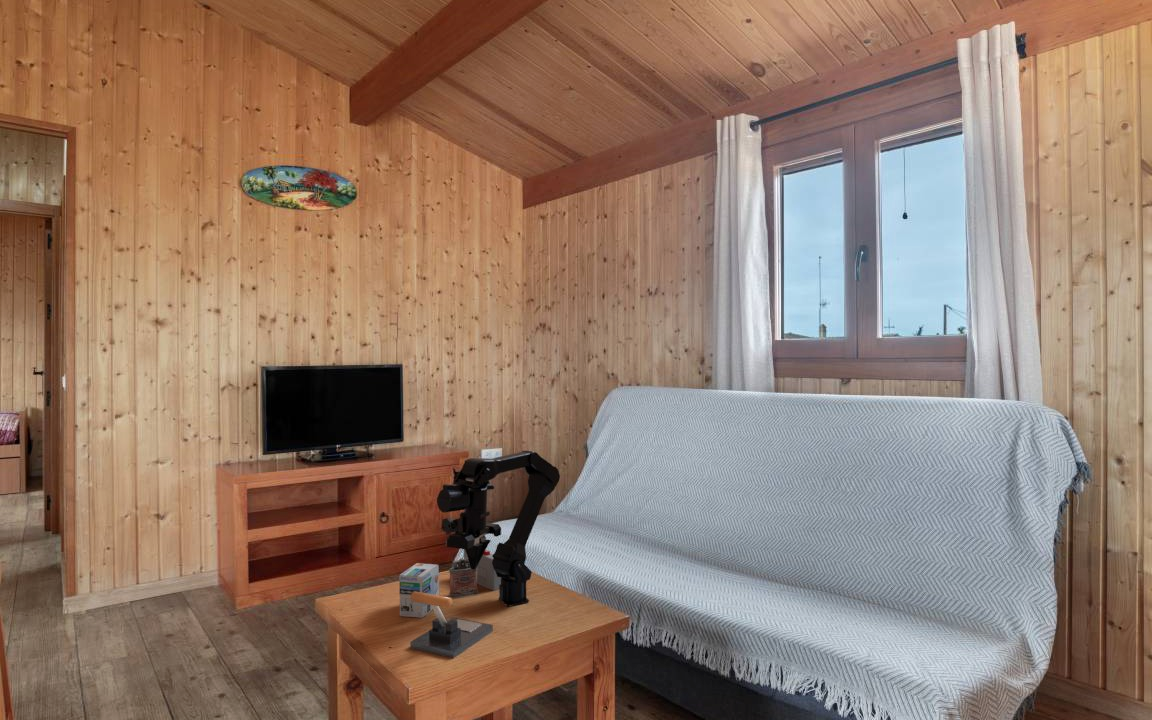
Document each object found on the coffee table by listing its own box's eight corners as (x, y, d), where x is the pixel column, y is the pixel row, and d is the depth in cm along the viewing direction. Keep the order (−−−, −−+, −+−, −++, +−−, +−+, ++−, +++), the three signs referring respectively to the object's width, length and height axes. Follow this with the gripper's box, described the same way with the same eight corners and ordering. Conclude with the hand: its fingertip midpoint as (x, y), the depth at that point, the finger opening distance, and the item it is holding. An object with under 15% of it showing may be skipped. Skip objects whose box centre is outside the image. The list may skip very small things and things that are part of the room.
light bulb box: (423, 618, 170) (422, 576, 170) (398, 616, 171) (398, 575, 171) (439, 603, 180) (439, 563, 180) (416, 601, 181) (416, 562, 181)
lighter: (450, 598, 184) (450, 562, 184) (448, 594, 187) (447, 559, 187) (479, 594, 187) (478, 558, 187) (476, 590, 190) (475, 555, 190)
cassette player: (502, 588, 191) (501, 554, 191) (494, 591, 189) (494, 556, 189) (471, 576, 203) (471, 543, 202) (463, 578, 201) (463, 545, 201)
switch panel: (452, 622, 167) (452, 601, 167) (492, 630, 161) (492, 608, 161) (410, 648, 152) (410, 624, 152) (453, 658, 147) (453, 633, 147)
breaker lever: (430, 617, 157) (414, 589, 152) (465, 624, 153) (450, 595, 148) (425, 625, 155) (409, 597, 150) (460, 632, 151) (445, 603, 146)
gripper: (466, 499, 183) (464, 557, 182) (428, 510, 166) (426, 574, 165) (502, 503, 179) (501, 561, 178) (467, 515, 162) (465, 580, 161)
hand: (473, 569), depth 171 cm, fingers closed
